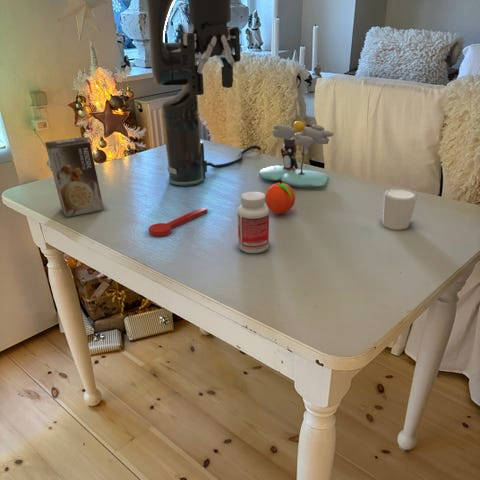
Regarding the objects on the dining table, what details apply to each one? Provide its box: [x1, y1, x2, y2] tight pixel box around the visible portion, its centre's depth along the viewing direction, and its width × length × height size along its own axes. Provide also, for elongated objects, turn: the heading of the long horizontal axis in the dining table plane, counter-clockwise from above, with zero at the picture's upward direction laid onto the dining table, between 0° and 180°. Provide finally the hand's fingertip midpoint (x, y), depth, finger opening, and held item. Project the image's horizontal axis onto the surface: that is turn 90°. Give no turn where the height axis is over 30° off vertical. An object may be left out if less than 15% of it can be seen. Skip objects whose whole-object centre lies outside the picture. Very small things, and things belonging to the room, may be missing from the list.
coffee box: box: [44, 136, 105, 218], centre depth 115 cm, size 9×6×16 cm
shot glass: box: [382, 188, 418, 231], centre depth 107 cm, size 7×7×7 cm
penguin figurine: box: [258, 120, 334, 189], centre depth 129 cm, size 20×11×15 cm, turn 53°
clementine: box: [265, 182, 296, 214], centre depth 113 cm, size 8×7×7 cm
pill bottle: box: [237, 191, 270, 254], centre depth 97 cm, size 6×6×11 cm
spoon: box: [148, 206, 209, 238], centre depth 111 cm, size 17×5×1 cm, turn 141°
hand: (213, 90), depth 96 cm, fingers open, 8 cm apart
